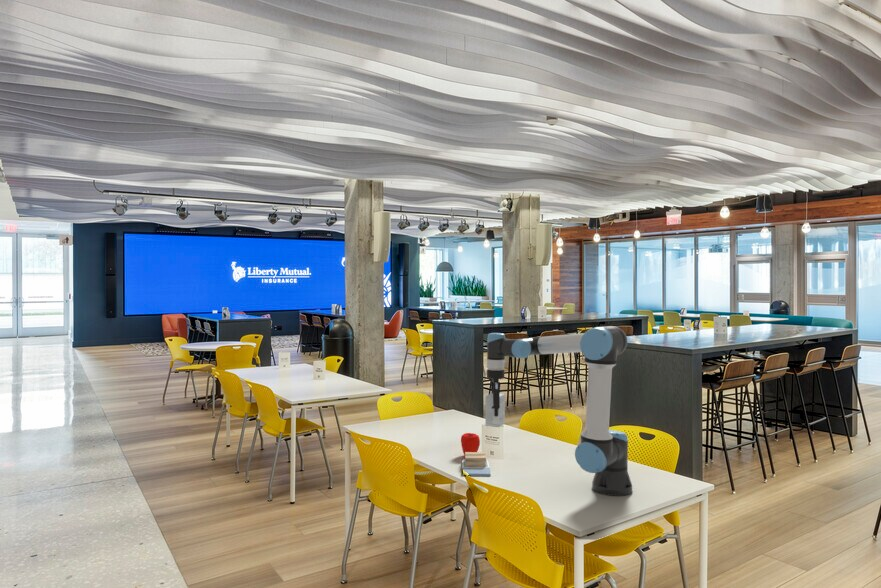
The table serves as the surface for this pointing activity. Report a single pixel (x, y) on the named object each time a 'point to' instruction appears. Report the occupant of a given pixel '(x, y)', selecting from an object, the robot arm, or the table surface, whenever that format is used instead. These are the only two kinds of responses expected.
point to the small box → (490, 411)
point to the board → (477, 470)
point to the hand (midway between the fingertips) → (495, 420)
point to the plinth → (475, 459)
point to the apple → (470, 442)
